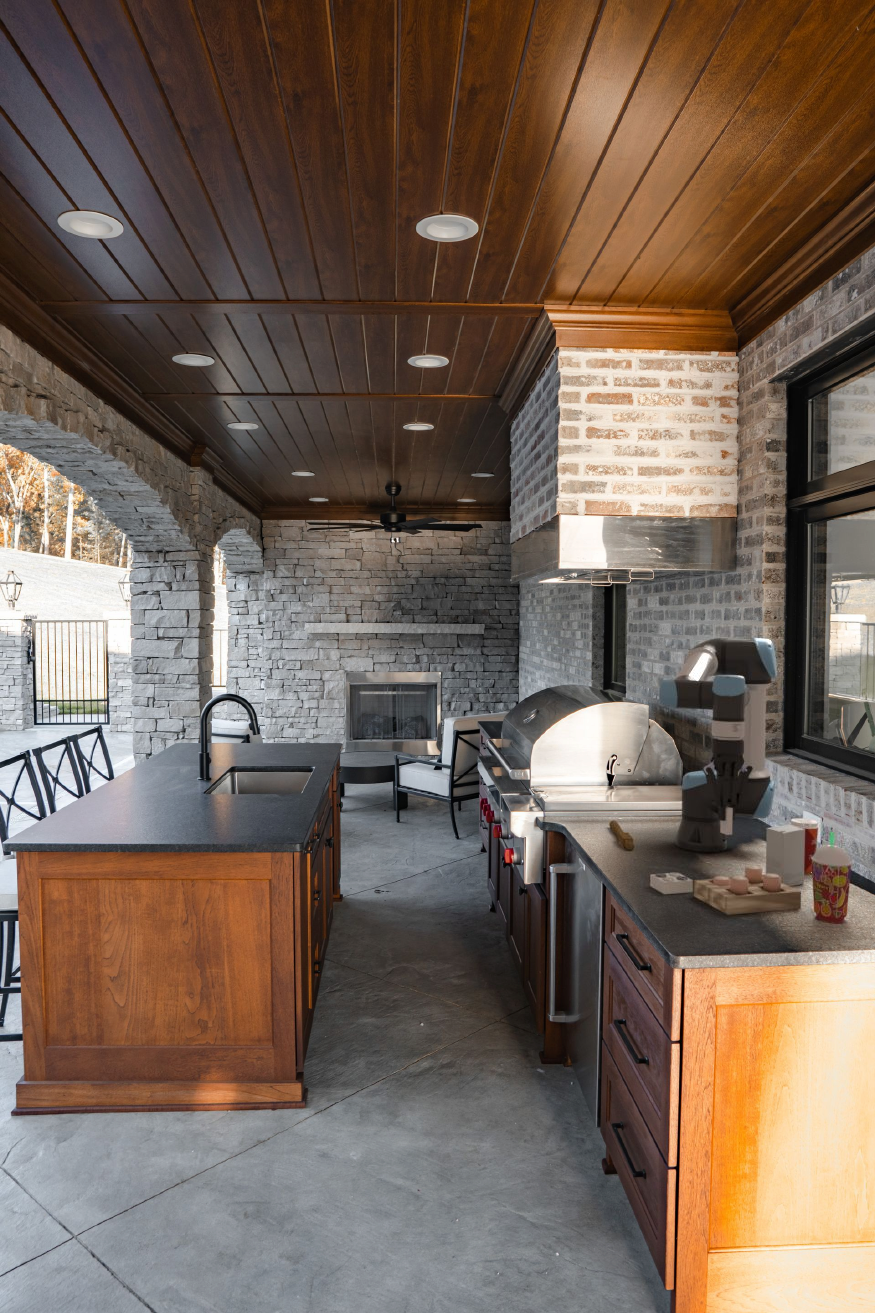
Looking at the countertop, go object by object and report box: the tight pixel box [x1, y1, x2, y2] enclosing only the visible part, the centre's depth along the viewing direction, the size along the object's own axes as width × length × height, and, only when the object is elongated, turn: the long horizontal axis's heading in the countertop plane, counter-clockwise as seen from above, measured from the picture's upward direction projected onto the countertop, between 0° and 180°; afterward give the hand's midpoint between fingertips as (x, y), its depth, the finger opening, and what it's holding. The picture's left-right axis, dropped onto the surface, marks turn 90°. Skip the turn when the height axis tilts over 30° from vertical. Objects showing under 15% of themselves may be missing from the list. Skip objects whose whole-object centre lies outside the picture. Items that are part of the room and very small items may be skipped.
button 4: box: [762, 873, 781, 893], centre depth 197 cm, size 4×4×4 cm
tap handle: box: [608, 820, 635, 851], centre depth 262 cm, size 3×3×30 cm
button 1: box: [712, 875, 731, 886], centre depth 202 cm, size 4×4×4 cm
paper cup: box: [788, 817, 820, 874], centre depth 227 cm, size 8×8×14 cm
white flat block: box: [649, 871, 694, 895], centre depth 209 cm, size 7×8×3 cm
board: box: [693, 874, 802, 916], centre depth 199 cm, size 14×20×4 cm
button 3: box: [744, 865, 763, 884], centre depth 204 cm, size 4×4×4 cm
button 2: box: [730, 875, 749, 895], centre depth 195 cm, size 4×4×4 cm
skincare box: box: [765, 824, 805, 887], centre depth 215 cm, size 8×6×15 cm
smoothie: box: [811, 832, 853, 924], centre depth 188 cm, size 8×8×20 cm
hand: (726, 833), depth 201 cm, fingers closed
